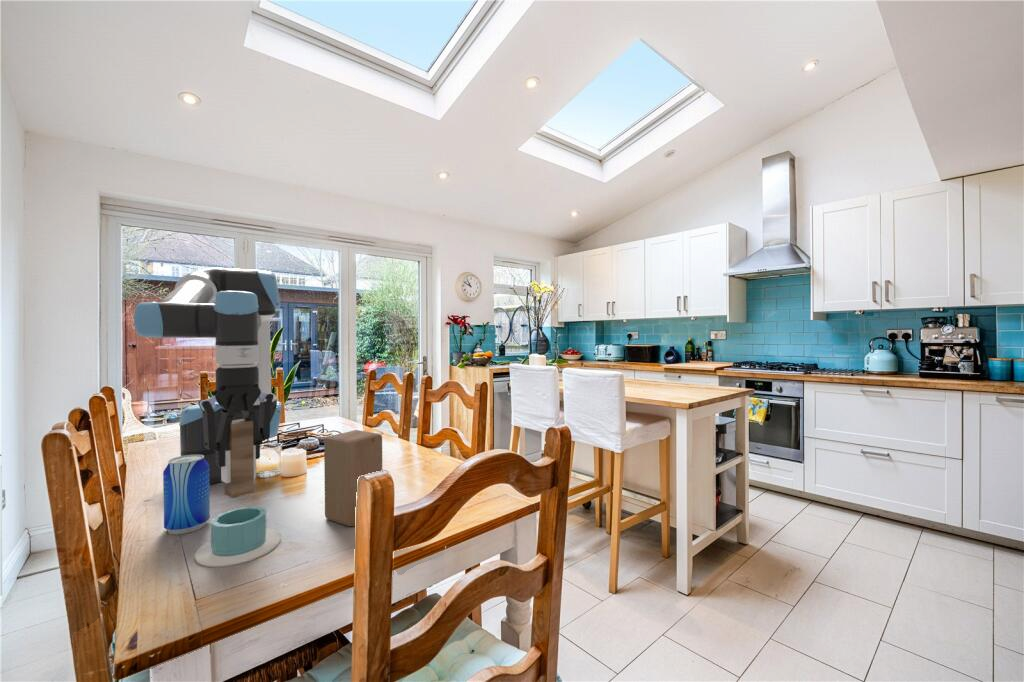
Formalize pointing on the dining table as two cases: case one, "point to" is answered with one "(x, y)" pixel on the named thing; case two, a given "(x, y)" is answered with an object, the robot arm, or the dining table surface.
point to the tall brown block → (240, 459)
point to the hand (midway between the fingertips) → (238, 478)
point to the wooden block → (348, 470)
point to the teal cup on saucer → (237, 538)
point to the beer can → (186, 494)
